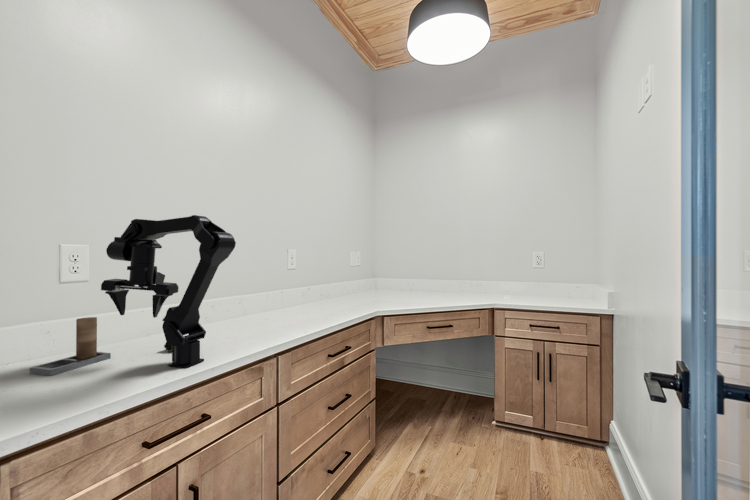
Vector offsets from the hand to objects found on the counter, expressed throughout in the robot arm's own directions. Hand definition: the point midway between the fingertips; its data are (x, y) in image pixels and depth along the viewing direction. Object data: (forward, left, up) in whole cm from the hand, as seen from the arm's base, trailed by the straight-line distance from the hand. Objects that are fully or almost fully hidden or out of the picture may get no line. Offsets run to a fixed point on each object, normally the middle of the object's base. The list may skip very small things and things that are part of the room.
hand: (138, 316), depth 99 cm
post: (+13, +5, -12) cm, 19 cm away
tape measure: (-3, -12, -13) cm, 18 cm away
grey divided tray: (+13, +8, -13) cm, 20 cm away
